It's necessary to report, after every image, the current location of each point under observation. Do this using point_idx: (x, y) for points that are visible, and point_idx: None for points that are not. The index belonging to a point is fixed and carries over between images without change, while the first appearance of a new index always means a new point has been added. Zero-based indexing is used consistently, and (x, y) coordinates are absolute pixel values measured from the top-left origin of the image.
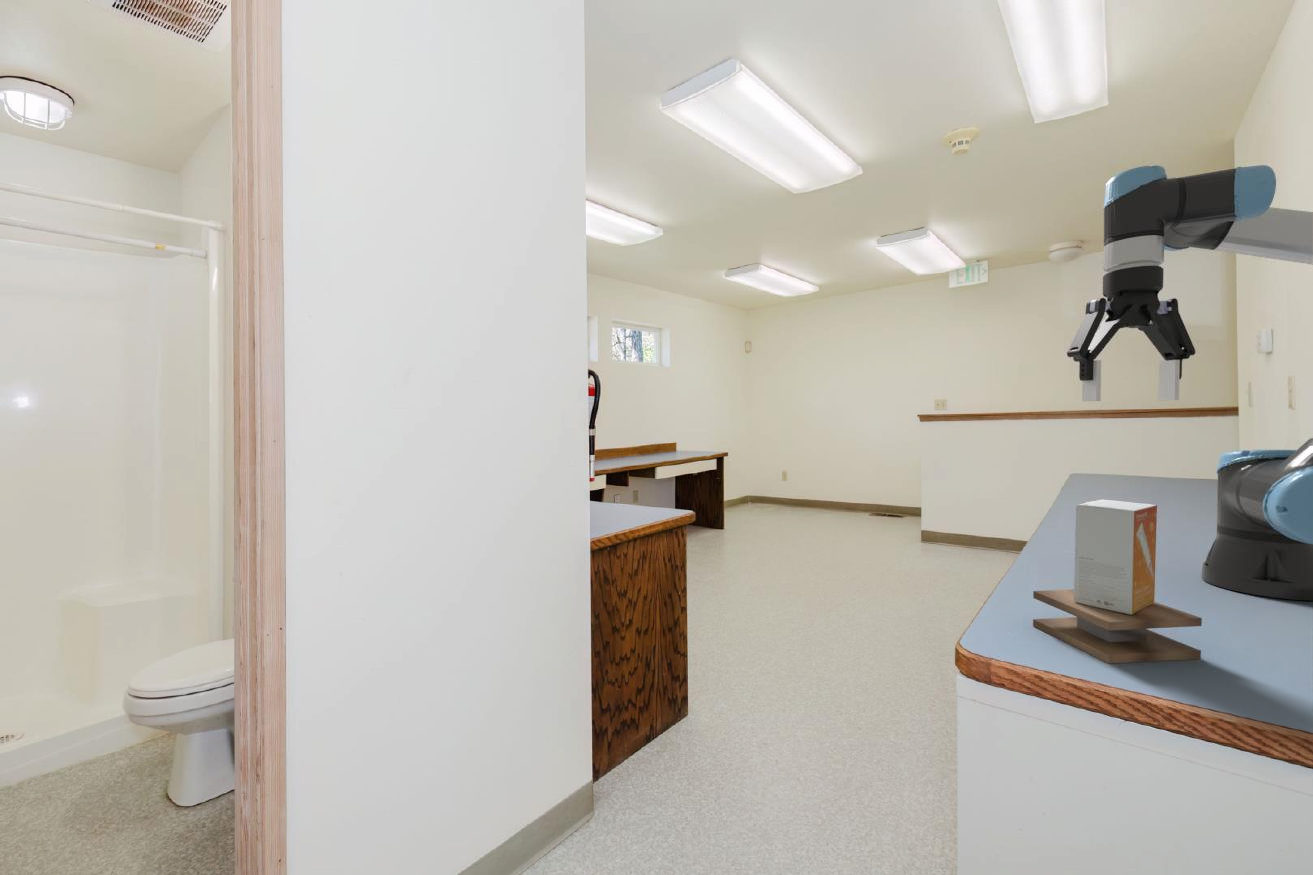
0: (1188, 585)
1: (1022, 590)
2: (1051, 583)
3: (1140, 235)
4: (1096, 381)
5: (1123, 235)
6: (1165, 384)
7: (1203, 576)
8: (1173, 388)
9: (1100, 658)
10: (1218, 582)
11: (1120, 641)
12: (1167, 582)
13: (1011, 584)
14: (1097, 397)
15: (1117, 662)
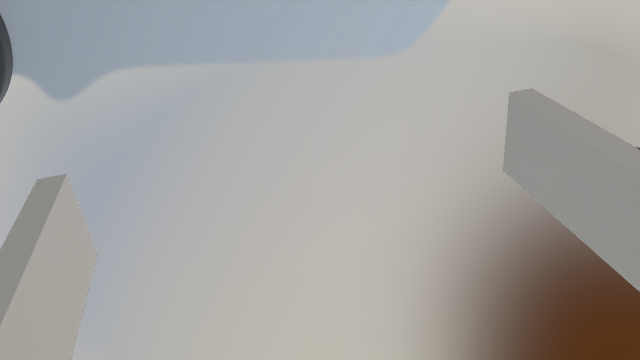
0: (66, 50)
1: (415, 6)
2: (333, 54)
3: None
4: (600, 128)
5: None
6: (67, 278)
7: (6, 87)
8: (55, 216)
9: None
10: (6, 40)
11: None
12: (96, 71)
13: (410, 45)
14: (535, 95)
15: None
